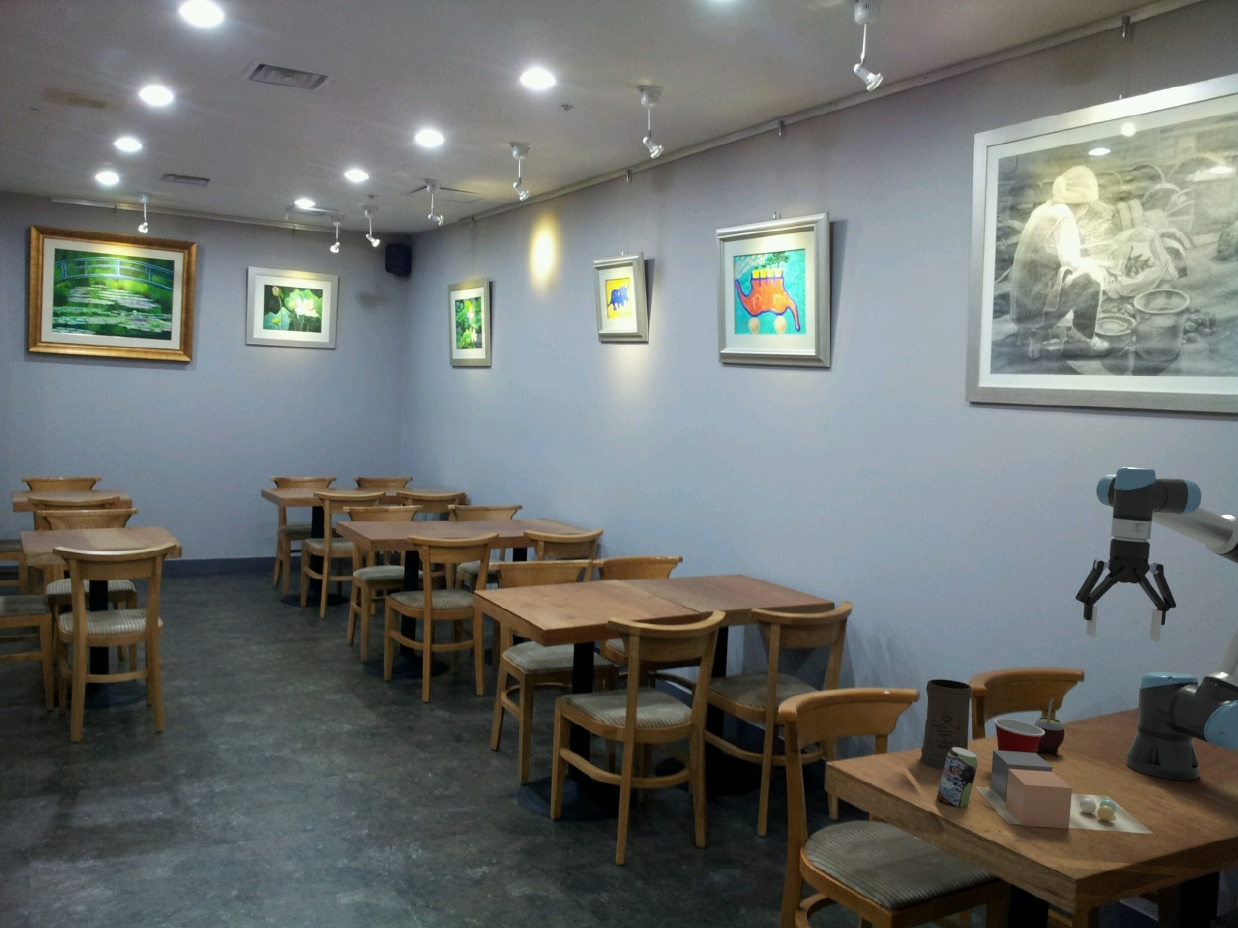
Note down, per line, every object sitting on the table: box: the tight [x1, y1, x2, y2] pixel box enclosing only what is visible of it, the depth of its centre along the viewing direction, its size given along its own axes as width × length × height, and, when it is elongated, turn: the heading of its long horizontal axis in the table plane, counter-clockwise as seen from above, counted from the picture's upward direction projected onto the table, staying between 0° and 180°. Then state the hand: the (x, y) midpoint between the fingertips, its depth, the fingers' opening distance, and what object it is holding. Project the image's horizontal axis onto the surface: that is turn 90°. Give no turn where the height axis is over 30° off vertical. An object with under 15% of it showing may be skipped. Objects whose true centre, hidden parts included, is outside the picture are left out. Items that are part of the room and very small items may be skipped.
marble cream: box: [1080, 798, 1096, 814], centre depth 201 cm, size 3×3×3 cm
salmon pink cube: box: [1006, 769, 1073, 830], centre depth 197 cm, size 9×9×8 cm
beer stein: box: [919, 678, 973, 771], centre depth 230 cm, size 15×11×20 cm
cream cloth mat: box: [974, 786, 1155, 835], centre depth 203 cm, size 28×20×1 cm
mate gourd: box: [1034, 696, 1065, 758], centre depth 244 cm, size 8×8×15 cm
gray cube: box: [989, 749, 1053, 803], centre depth 209 cm, size 9×9×8 cm
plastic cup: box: [993, 717, 1045, 754], centre depth 225 cm, size 11×11×12 cm
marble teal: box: [1100, 799, 1116, 813], centre depth 201 cm, size 3×3×3 cm
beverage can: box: [936, 747, 979, 808], centre depth 203 cm, size 6×7×12 cm
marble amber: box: [1098, 805, 1114, 821], centre depth 198 cm, size 3×3×3 cm
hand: (1122, 637), depth 214 cm, fingers open, 13 cm apart
